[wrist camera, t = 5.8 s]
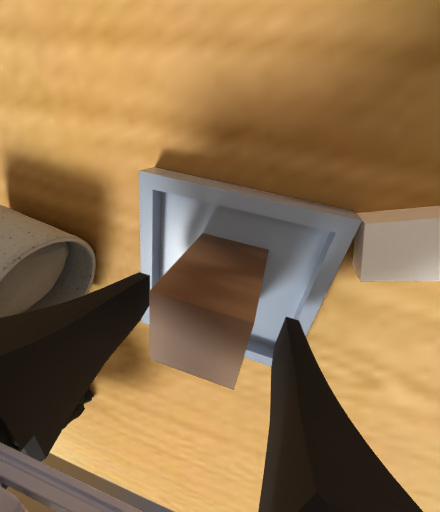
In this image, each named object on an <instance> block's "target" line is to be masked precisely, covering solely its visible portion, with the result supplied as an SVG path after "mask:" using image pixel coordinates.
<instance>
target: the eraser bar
mask: <svg viewBox="0 0 440 512" xmlns="http://www.w3.org/2000/svg"><path fill="white" fill-rule="evenodd" d="M356 214H357V215H358V217H359V218H360V219H361V220H362V222H361V224H360V226H359V228H358V230H357V232H356V234H355V237H354V252H353V267H354V269H355V271H356V274H357V276H358V278H359V280H360V282H375V281H440V206H429V207H418V208H407V209H396V210H385V211H373V212H362V213H356Z"/></svg>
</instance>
